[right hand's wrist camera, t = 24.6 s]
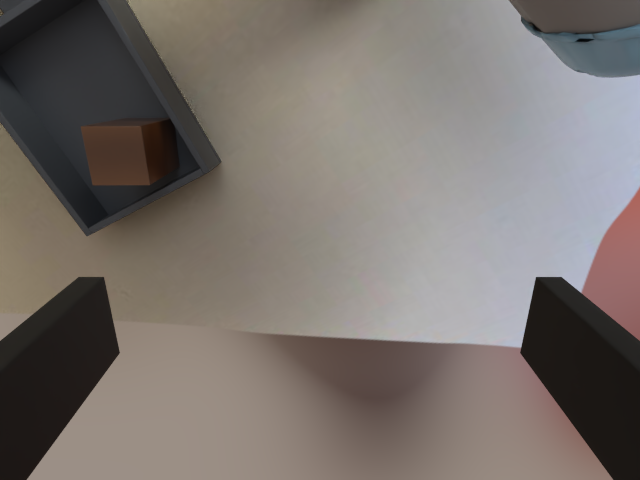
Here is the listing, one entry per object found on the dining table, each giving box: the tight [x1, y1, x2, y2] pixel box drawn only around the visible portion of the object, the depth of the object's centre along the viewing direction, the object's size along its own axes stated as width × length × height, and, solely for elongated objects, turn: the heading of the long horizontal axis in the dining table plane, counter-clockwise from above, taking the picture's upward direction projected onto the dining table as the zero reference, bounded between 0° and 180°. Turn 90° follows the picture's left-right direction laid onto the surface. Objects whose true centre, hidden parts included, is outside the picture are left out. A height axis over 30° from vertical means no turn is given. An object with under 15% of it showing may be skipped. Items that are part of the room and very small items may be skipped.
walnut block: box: [81, 118, 180, 185], centre depth 35 cm, size 4×4×8 cm
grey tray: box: [0, 0, 221, 236], centre depth 34 cm, size 24×13×7 cm, turn 27°
